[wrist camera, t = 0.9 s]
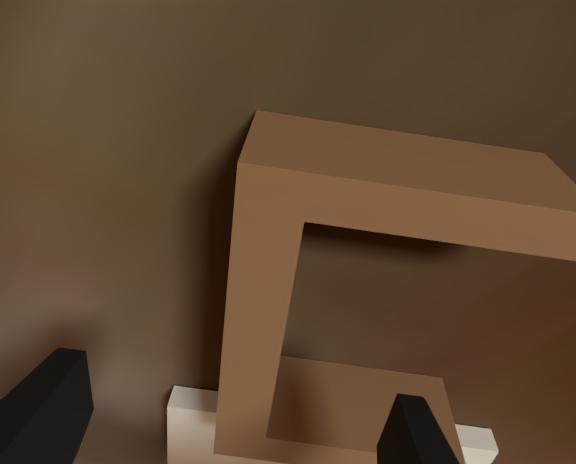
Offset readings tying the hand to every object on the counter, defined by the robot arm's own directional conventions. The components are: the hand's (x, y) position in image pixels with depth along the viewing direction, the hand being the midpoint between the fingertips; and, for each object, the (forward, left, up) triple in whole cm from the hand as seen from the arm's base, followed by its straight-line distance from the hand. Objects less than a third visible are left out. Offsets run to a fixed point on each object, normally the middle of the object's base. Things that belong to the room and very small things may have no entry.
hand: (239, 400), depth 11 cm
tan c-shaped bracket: (-3, 0, -5) cm, 6 cm away
